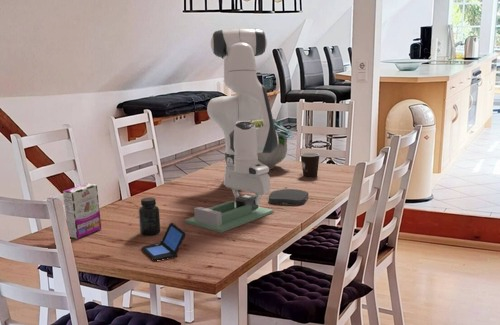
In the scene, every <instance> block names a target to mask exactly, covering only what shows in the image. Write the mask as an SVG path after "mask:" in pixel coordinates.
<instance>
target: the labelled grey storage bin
mask: <svg viewBox="0 0 500 325" xmlns="http://www.w3.org/2000/svg"><path fill="white" fill-rule="evenodd" d="M256 197H257V196H256V194H251V193H247V194H243V195H241V196H240V197H237V198H236V200H235V203H236V208H239V207H242V206H245V205H251V208H252V210H253V209H256V208H258V207H259V204H258V205H255V204H254V200H255V199H256Z"/></svg>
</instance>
